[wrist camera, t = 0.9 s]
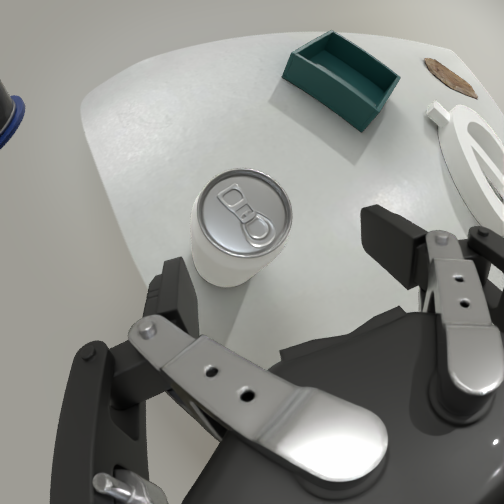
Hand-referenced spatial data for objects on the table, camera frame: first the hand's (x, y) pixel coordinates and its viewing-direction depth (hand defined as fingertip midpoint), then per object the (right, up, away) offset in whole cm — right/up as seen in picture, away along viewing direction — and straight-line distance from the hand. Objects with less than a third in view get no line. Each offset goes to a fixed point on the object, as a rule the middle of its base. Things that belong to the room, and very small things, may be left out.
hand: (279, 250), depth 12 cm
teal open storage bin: (+13, +27, +25) cm, 39 cm away
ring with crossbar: (+47, +16, +30) cm, 58 cm away
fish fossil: (+55, +48, +39) cm, 83 cm away
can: (-4, 0, +16) cm, 16 cm away
